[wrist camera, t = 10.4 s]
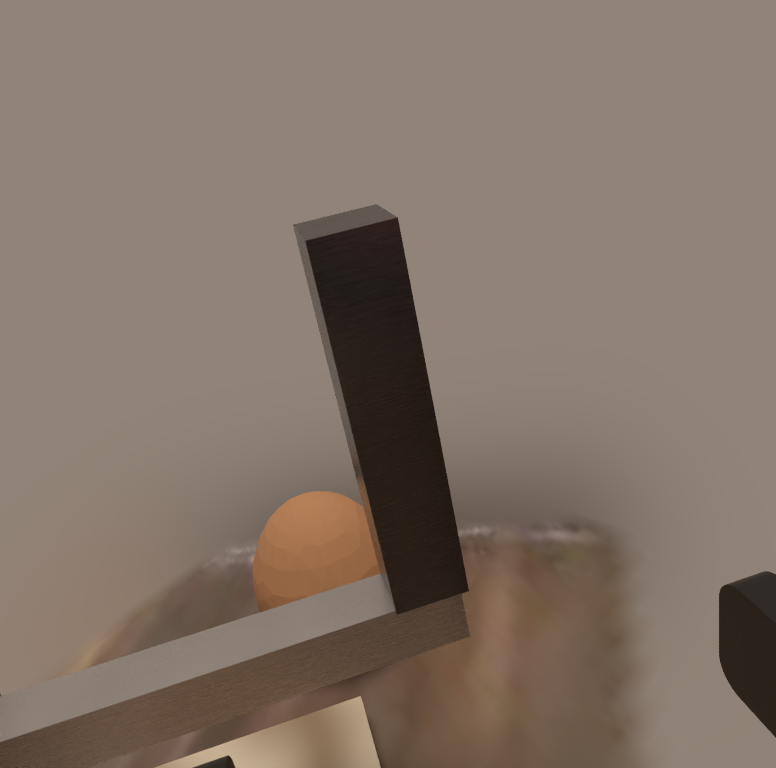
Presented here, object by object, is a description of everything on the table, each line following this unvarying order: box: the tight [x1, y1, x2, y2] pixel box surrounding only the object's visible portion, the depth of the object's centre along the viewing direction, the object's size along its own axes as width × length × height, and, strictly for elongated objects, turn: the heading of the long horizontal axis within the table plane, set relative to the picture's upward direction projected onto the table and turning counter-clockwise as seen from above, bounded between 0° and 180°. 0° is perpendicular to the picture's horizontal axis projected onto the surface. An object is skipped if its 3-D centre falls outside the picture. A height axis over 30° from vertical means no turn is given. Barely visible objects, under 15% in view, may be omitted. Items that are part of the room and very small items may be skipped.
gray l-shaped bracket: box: [0, 205, 470, 768], centre depth 21 cm, size 19×2×14 cm, turn 104°
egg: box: [253, 491, 381, 612], centre depth 38 cm, size 7×7×8 cm
